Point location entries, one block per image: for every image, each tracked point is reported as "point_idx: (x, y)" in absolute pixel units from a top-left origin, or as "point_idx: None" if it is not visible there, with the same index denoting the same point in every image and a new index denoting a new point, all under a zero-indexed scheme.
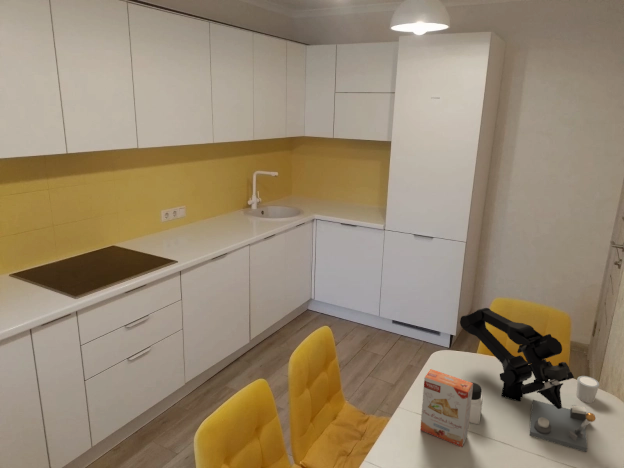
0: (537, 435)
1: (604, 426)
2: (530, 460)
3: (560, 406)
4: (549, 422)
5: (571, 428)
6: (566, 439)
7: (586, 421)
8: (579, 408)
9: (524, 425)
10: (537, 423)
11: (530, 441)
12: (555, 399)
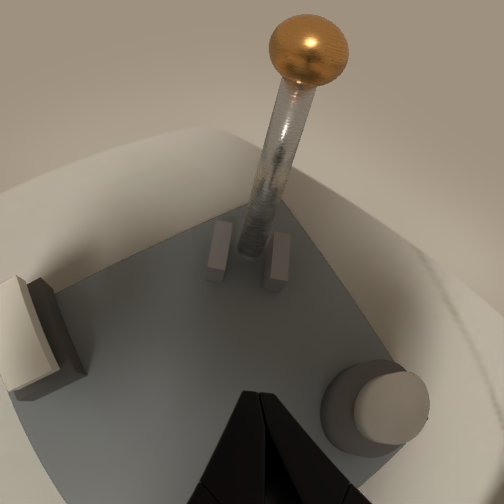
0: None
1: (9, 235)
2: (484, 309)
3: (264, 402)
4: None
5: (191, 316)
6: (316, 281)
7: (310, 102)
8: (6, 331)
9: (374, 486)
10: None
11: (434, 385)
12: (338, 475)
